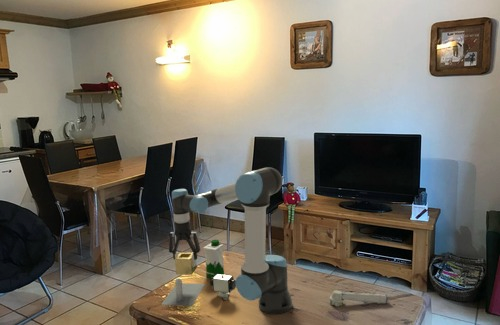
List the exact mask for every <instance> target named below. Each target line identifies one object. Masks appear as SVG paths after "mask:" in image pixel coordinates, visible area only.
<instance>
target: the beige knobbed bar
mask: <svg viewBox="0 0 500 325" xmlns="http://www.w3.org/2000/svg"><path fill="white" fill-rule="evenodd" d="M388 300H389V298H388V295H387V294H384V293H383V294H382V293H381V294H380V293H379V292H378V293H366V292H365V293H364V292H363V293H362V292H343V291H341V290H337V289H336V290H333V291H332V294H331V295H330V296H329V304H330V305H331V306H335V307H340V306H343V303H344V301H355V302H363V303H373V304H378V305H380V304H383V305H387V304H388Z"/></svg>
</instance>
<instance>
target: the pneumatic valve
mask: <svg viewBox="0 0 500 325" xmlns="http://www.w3.org/2000/svg"><path fill="white" fill-rule="evenodd" d="M209 285H210V287H212V291H214V292H215V291H216V292H218V293H217V296H218V297H219V298H222V301H227V300H228V299H230V297H231V296H230V293H231V292H232V291H234V290H235V289H236V279H235V278H234V275H228V274H225V273H224V275H220V274H216V275H215V276H214V277H212V278H210V280H209Z"/></svg>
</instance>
